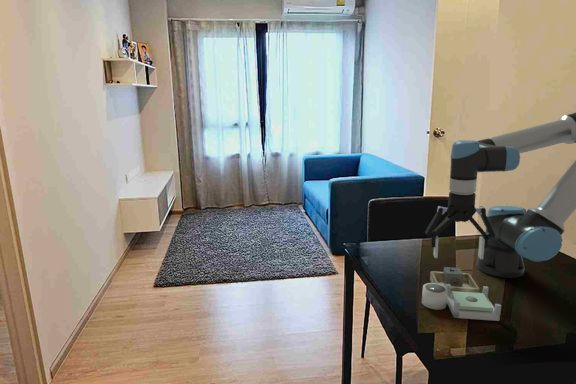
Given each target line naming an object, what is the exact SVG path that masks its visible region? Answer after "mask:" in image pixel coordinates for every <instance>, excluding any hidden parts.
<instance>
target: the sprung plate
mask: <svg viewBox="0 0 576 384" xmlns="http://www.w3.org/2000/svg"><path fill="white" fill-rule="evenodd" d="M451 295H452V296H453V298H454V300H455V301H459V303H460V307H459V309H464V310H479V311H493V307H492V306H491V304H490V303H489V301H488V300H487V298H486V297H485V295H484V294H483V293H482V292H479V293H473V292H457V291H452V293H451Z"/></svg>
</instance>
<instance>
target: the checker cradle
mask: <svg viewBox="0 0 576 384" xmlns="http://www.w3.org/2000/svg"><path fill="white" fill-rule="evenodd" d="M446 288H447V289H448V294H447V305H448V306H447V307H448V308H449V310H450V312H451V314H452V317H453V319H467V320H468V319H469V320H482V321H495V322H496V321H497V322H499V321H501V319H500V318H501V310H502V305H501V304H500V303H494V305H493V304H492V302H491V301H490V299H489V297H488V295H489V287H488V286H487V285H486V286H485V285H483V286H482V292H481V293H483V294H484V295H485V297H486V298H487V300H488V301H489V303H490V304H491V306H492V307H493V311H479V310H464V309H459V307H460V303H459V301H455V300H454V298H453V296H452V295H451V293H450V289H451V285H450V284H446Z"/></svg>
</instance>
